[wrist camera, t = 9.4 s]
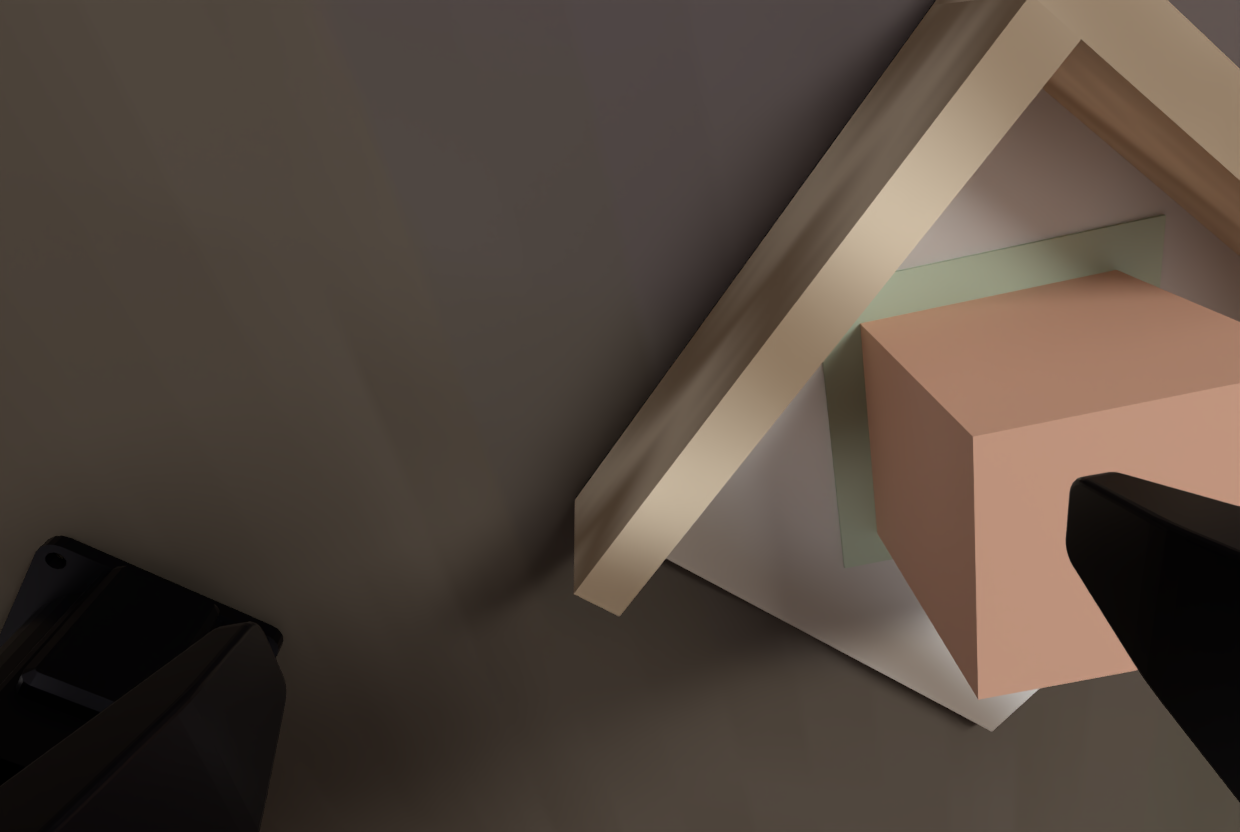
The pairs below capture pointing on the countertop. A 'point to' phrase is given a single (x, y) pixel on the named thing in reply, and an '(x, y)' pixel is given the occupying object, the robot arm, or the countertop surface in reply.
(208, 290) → the countertop surface
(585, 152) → the countertop surface
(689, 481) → the tray
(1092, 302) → the cube
